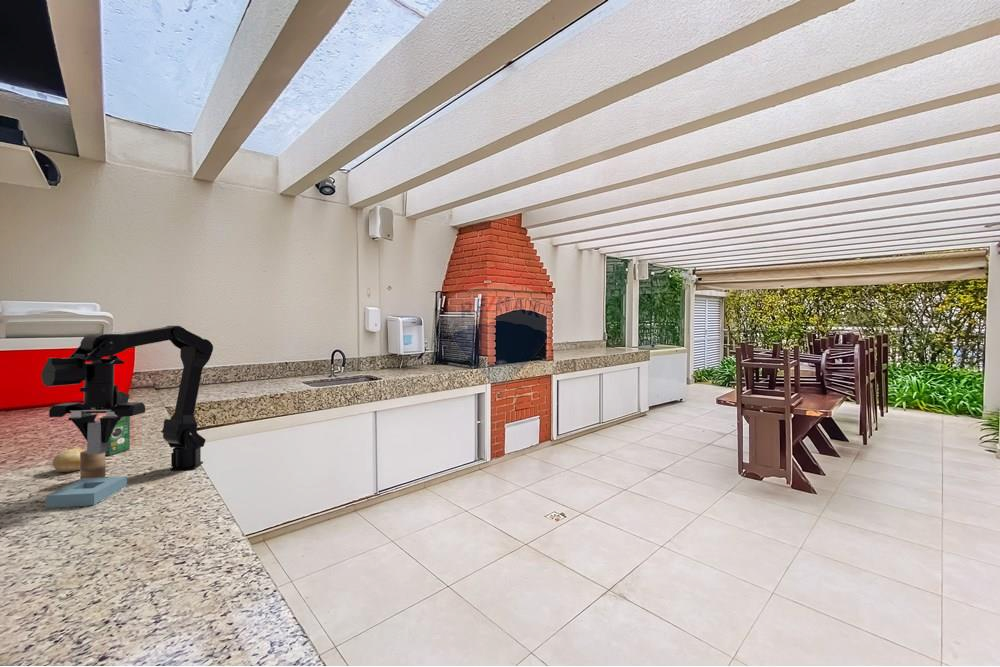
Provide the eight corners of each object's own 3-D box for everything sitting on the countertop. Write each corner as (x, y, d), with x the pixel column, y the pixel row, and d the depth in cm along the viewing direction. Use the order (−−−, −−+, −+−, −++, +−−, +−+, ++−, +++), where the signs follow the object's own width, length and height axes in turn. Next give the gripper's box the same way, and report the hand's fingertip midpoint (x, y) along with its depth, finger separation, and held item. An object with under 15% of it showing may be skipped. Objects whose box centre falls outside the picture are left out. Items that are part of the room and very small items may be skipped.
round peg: (110, 476, 127) (109, 448, 127) (97, 482, 122) (96, 453, 122) (89, 477, 126) (89, 449, 126) (75, 483, 121) (75, 454, 121)
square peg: (108, 450, 116) (109, 420, 116) (100, 454, 113) (101, 422, 113) (95, 451, 115) (96, 420, 115) (87, 454, 112) (87, 422, 112)
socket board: (126, 487, 118) (126, 476, 118) (94, 505, 107) (94, 493, 106) (84, 489, 117) (83, 478, 117) (45, 508, 105) (45, 495, 105)
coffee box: (122, 449, 154) (122, 411, 153) (130, 449, 154) (130, 411, 153) (101, 456, 146) (100, 416, 145) (109, 456, 146) (109, 416, 145)
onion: (96, 467, 134) (95, 444, 134) (63, 476, 127) (62, 451, 126) (79, 465, 137) (79, 442, 137) (46, 473, 129) (45, 449, 129)
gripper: (158, 379, 124) (157, 435, 124) (82, 379, 120) (80, 436, 120) (132, 383, 113) (130, 445, 113) (47, 383, 109) (46, 446, 109)
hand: (98, 442), depth 114 cm, fingers closed on square peg, 3 cm apart
